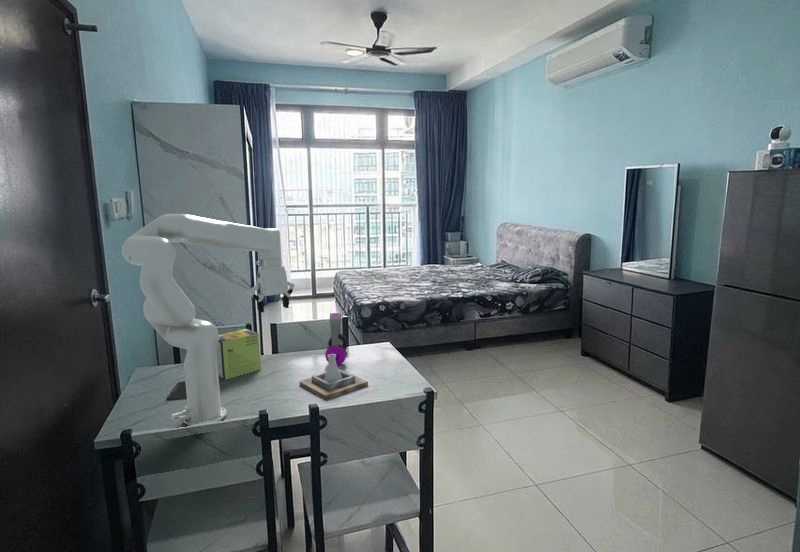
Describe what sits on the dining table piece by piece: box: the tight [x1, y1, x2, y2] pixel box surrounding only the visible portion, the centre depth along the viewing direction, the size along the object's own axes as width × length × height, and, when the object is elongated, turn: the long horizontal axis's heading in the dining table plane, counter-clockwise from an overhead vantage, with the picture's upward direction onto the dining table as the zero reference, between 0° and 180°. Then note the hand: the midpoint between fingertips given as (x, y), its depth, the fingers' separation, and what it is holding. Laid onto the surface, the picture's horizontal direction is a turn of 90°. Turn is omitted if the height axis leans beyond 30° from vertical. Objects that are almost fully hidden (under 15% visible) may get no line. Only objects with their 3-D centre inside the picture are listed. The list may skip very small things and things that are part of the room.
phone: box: [166, 380, 187, 400], centre depth 166 cm, size 8×1×15 cm
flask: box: [324, 354, 342, 383], centre depth 168 cm, size 7×7×10 cm
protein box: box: [217, 328, 262, 381], centre depth 183 cm, size 10×15×16 cm
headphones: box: [324, 312, 349, 366], centre depth 197 cm, size 21×9×20 cm, turn 4°
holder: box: [298, 368, 369, 401], centre depth 169 cm, size 18×18×4 cm
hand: (273, 309), depth 167 cm, fingers open, 9 cm apart
